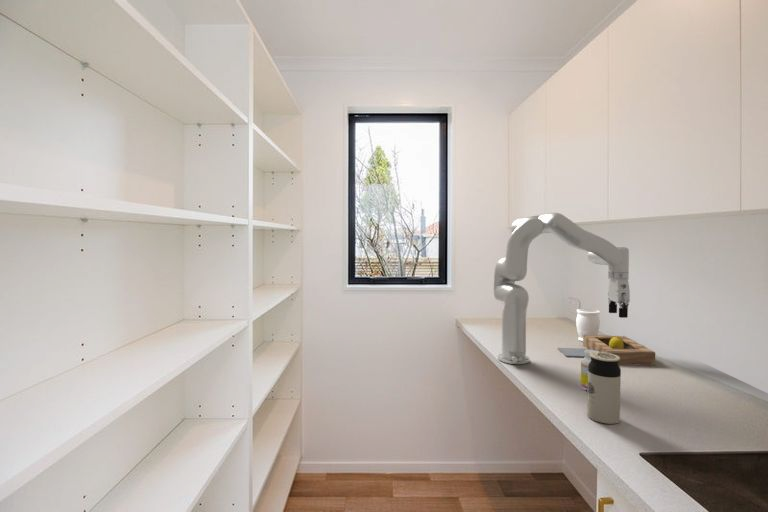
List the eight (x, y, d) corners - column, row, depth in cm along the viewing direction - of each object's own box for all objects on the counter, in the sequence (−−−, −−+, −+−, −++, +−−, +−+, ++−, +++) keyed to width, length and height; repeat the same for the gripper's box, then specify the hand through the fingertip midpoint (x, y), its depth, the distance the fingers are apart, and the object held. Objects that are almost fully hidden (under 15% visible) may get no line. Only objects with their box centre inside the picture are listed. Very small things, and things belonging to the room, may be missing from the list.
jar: (575, 336, 200) (576, 307, 200) (598, 339, 196) (599, 309, 195) (575, 341, 191) (576, 311, 190) (599, 344, 186) (600, 313, 186)
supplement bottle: (592, 384, 136) (592, 348, 135) (607, 391, 130) (608, 353, 129) (575, 386, 134) (576, 349, 134) (590, 394, 128) (591, 355, 127)
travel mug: (615, 414, 113) (617, 352, 112) (622, 426, 106) (624, 361, 105) (585, 410, 116) (586, 350, 115) (589, 422, 108) (591, 358, 108)
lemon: (621, 353, 172) (621, 335, 172) (625, 357, 167) (625, 338, 166) (607, 352, 174) (607, 334, 173) (610, 356, 168) (611, 337, 168)
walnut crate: (654, 365, 156) (655, 352, 156) (606, 363, 158) (607, 350, 158) (624, 347, 182) (624, 335, 181) (583, 345, 184) (583, 334, 184)
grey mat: (595, 358, 166) (595, 356, 166) (566, 356, 167) (566, 355, 167) (585, 349, 177) (585, 348, 177) (557, 348, 179) (557, 347, 179)
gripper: (637, 277, 159) (637, 319, 160) (618, 273, 176) (618, 311, 177) (618, 278, 160) (617, 319, 161) (600, 273, 177) (600, 311, 178)
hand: (617, 315), depth 169 cm, fingers open, 9 cm apart
